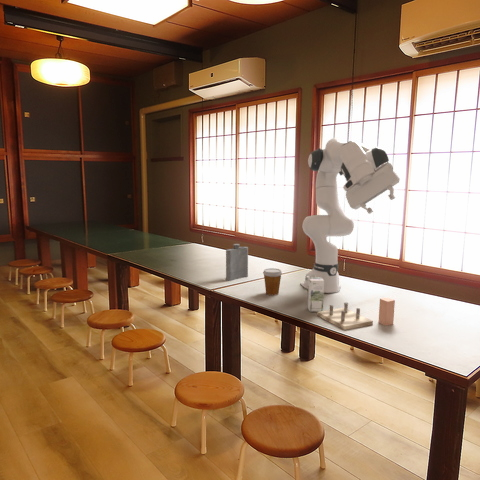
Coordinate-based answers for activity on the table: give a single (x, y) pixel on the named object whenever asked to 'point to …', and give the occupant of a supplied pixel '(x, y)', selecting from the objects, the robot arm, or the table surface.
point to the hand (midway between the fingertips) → (381, 205)
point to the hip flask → (236, 262)
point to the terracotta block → (386, 311)
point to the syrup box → (315, 294)
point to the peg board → (345, 317)
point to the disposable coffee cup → (272, 280)
